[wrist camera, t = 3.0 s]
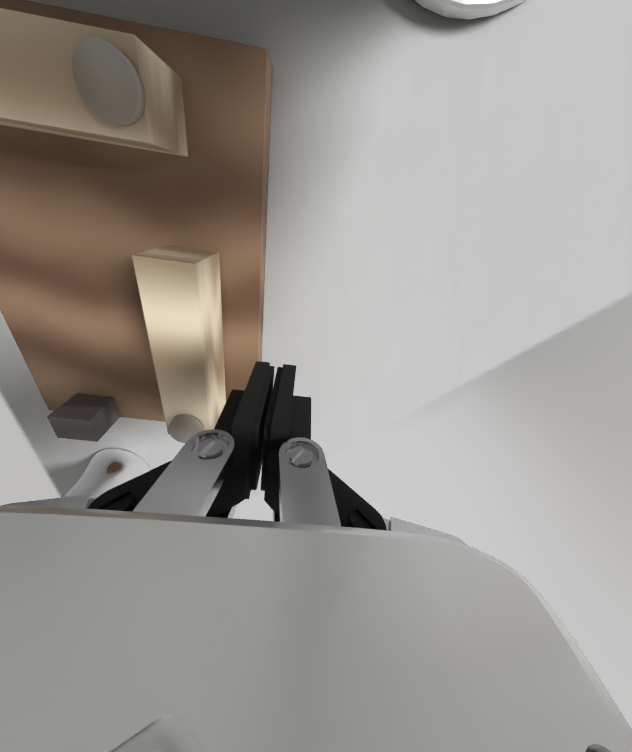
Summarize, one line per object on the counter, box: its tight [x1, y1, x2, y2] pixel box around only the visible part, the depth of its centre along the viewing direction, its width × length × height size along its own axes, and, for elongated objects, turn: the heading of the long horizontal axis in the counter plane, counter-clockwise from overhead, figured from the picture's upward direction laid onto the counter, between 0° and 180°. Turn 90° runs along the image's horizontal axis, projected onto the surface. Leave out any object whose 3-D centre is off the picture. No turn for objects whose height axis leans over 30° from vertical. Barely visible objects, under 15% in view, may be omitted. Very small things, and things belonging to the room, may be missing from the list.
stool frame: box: [0, 0, 272, 441], centre depth 17 cm, size 24×18×7 cm
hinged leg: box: [132, 245, 226, 443], centre depth 18 cm, size 12×3×5 cm, turn 172°
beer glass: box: [61, 449, 150, 498], centre depth 25 cm, size 7×7×15 cm
